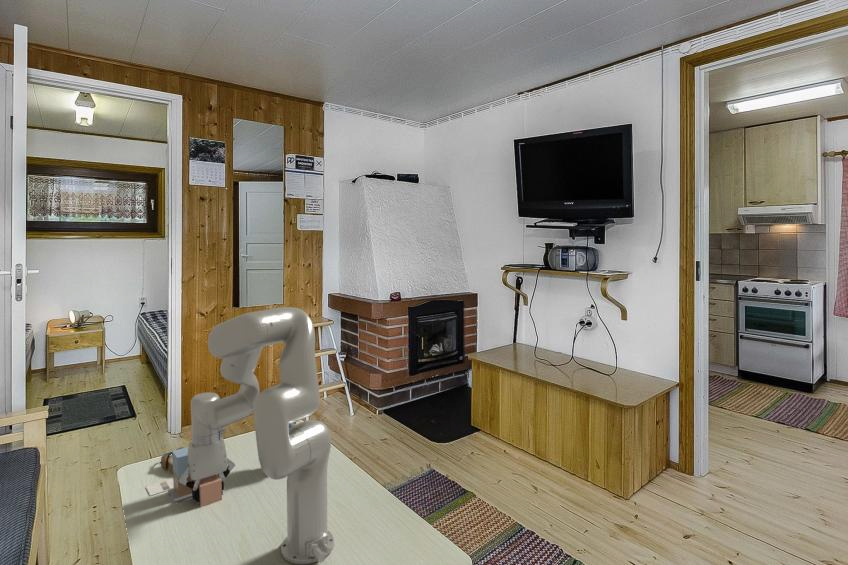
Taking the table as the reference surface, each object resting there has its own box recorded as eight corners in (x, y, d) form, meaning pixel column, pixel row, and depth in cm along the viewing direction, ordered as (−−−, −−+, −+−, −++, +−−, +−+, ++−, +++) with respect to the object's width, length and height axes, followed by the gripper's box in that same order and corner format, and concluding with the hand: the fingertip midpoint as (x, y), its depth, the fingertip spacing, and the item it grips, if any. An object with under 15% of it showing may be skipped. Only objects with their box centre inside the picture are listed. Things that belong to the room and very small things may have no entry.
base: (205, 493, 137) (204, 471, 136) (175, 503, 132) (174, 481, 131) (197, 482, 143) (196, 461, 142) (168, 492, 138) (167, 470, 137)
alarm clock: (190, 469, 146) (151, 455, 149) (188, 483, 146) (149, 469, 150) (214, 453, 157) (178, 440, 160) (212, 466, 157) (176, 453, 161)
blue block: (199, 471, 136) (198, 452, 136) (178, 478, 133) (177, 457, 132) (193, 464, 140) (192, 445, 140) (173, 470, 137) (172, 451, 136)
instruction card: (183, 485, 141) (183, 484, 141) (150, 496, 135) (150, 495, 135) (178, 477, 146) (178, 476, 146) (145, 487, 140) (145, 486, 140)
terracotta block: (222, 499, 134) (221, 480, 133) (201, 507, 130) (200, 486, 130) (215, 491, 138) (215, 472, 138) (195, 498, 135) (194, 478, 134)
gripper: (232, 425, 141) (234, 481, 143) (169, 440, 130) (172, 502, 131) (241, 433, 135) (243, 492, 137) (176, 450, 124) (179, 514, 126)
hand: (208, 496), depth 134 cm, fingers closed on terracotta block, 5 cm apart
